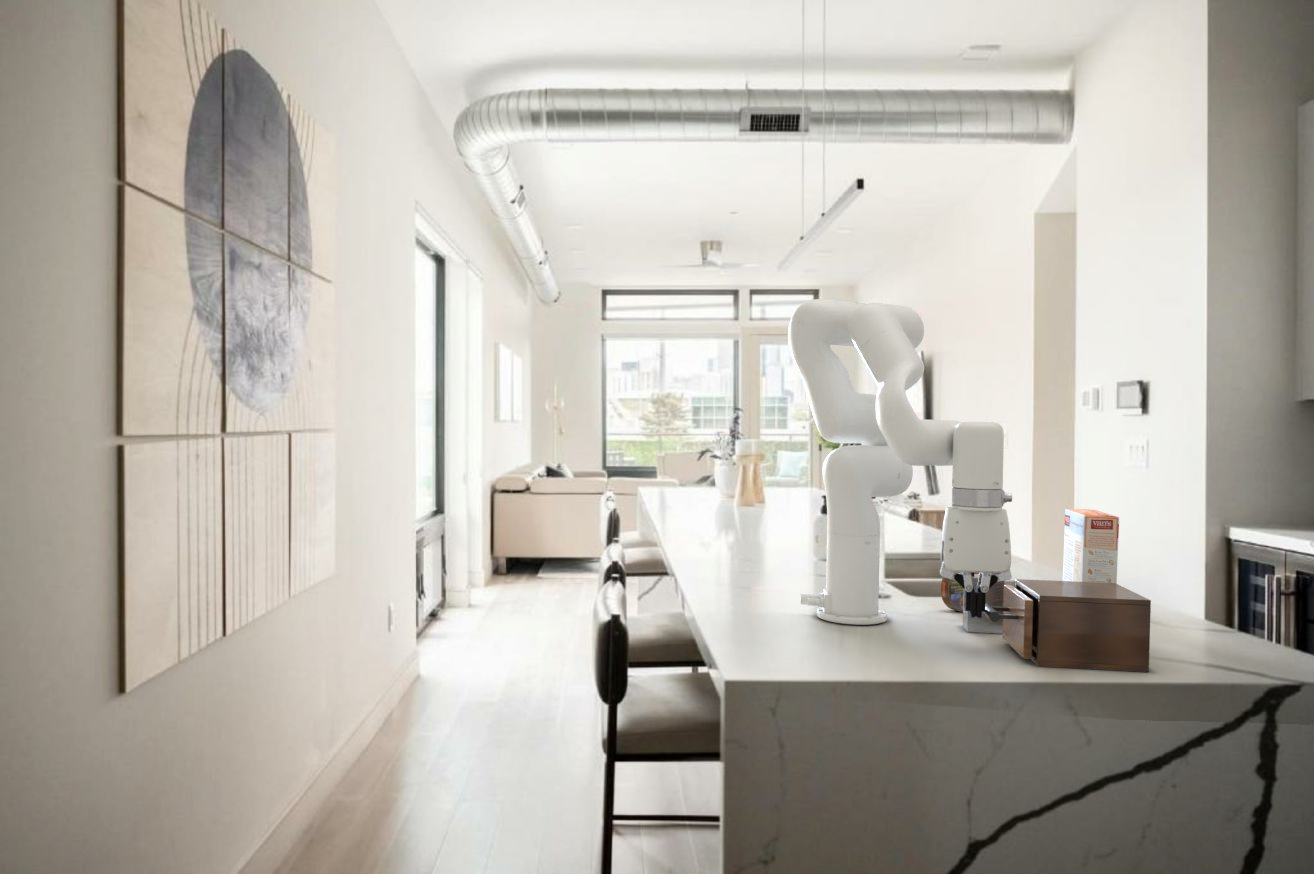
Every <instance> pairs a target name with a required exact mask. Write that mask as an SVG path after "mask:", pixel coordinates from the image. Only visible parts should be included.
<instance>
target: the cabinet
mask: <svg viewBox="0 0 1314 874" xmlns="http://www.w3.org/2000/svg"><path fill="white" fill-rule="evenodd" d="M1014 587H1015V588H1016V589H1018V590H1019V591H1020V592H1021V588H1022V589H1024V590H1025V591H1026V592H1028V593H1029V594H1031V595H1032V596H1034V597H1035V598H1036V599H1038V622H1037V653H1036V652H1035V651H1034V650H1032V659H1030V661H1032V662H1033V663H1034V664H1035V665H1036V666H1037V667H1043V668H1063V669H1081V670H1100V671H1101V670H1102V671H1103V670H1104V671H1118V672H1119V671H1120V672H1136V673H1137V672H1139V673H1150V649H1151V648H1150V645H1151V643H1150V642H1151V641H1150V640H1151V639H1150V638H1151V610H1152V609H1151V607H1152V600H1151V599H1149V598H1147V597H1145V596H1143V595H1141V594H1139V593H1137V592H1135V591H1132V590H1130V589H1129V588H1127V587H1124V586H1122V585H1120V584H1118V583H1117V584H1116V583H1099V582H1074V581H1063V580H1051V579H1050V580H1049V579H1048V580H1047V579H1045V580H1044V579H1022V578H1015V580H1014Z"/></svg>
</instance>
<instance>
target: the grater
mask: <svg viewBox="0 0 1314 874" xmlns="http://www.w3.org/2000/svg"><path fill="white" fill-rule="evenodd" d="M974 573H975V572H971V578H972V585H973V587H974V590H975V589H976V586H977V584H978V578H979V574H974ZM1005 582H1006V581H1000V582H996V583H995V584H994V585H993V586H992V587H991V588H990V589H989V590H988V592H986V603H987V604H989V605H990V606H992V607H1003V600H1004V584H1005V585H1006V583H1005ZM996 612H998V613H999V614H1003V611H996ZM962 628H963V629H964V630H965V631H966V632H967V633H976V634H977V633H978V634H979V633H980V634H996V635H999V634H1000V635H1003V619H1000V618H999V620H998V621H996V622H993V621H991V620H990V619H989V618H988V617H987V616H986V615H985V614H984V613H982V618H978V617H974V618H971V617H970V616H969V615H968V613H967V611H965V610H964V598H963V612H962Z"/></svg>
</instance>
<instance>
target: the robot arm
mask: <svg viewBox="0 0 1314 874" xmlns="http://www.w3.org/2000/svg"><path fill="white" fill-rule="evenodd" d="M787 336H788V337H787V338H788V348H789V350H790V351H789V352H790V354H791V357H792V359H793V361H794V364H795V366H796V368H797V370H798V372H799V375H800V377H801V380H802V383H803V385H804V389H805V392H806V396H807V399H808V402H809V403H808V404H809V406H810V409H811V413H812V416H813V419H814V422H815V426H816V429H817V431H818V433H819V435H820V436H821V438H822V439H823V440H825V441H826V442H829V443H833V444H856V445H844V446H840V447H838V448H835V449H833V450H832V451H831V452H829V454H828V455H827V456H826V458H825V459H824V461H823V464H822V480H823V487H824V493H825V500H826V513H827V514H826V517H827V518H826V562H825V563H826V564H825V565H826V567H825V569H826V570H825V588H824V589H823V590H822V592H817V594H811V593H800V605H807V606H809V607H810V606H811V607H815V606H816V607H818V608H817V609H816V616H817V617H818V618H819V619H820V620H823V621H826V622H831V623H836V624H843V625H855V626H856V625H857V626H859V625H860V626H866V625H868V626H869V625H877V624H878V625H879V624H882V623H885V622H886V621H887V620H888V613H887V612H886V611H884V610H882V609H879V601H880V600H879V598H880V597H879V595H880V557H881V556H880V554H881V520H880V515H879V512H878V510H877V507H876V505H875V503H874V501H873V498H885V497H895V496H898V495H901V494H903V493H904V492H906V491H907V490H908V489H909V488H910V486H911V483H912V481H913V473H914V471H913V466H917V467H920V466H921V467H923V466H924V467H925V466H935V467H936V466H938V467H939V466H941V467H942V466H943V467H947V466H950V467H952V472H951V473H952V474H951V475H952V476H951V477H952V479H951V481H952V482H951V487H952V488H951V506H946V508H945V513H944V516H943V523H942V532H941V542H940V543H941V544H940V563H941V565H940V566H941V567H940V570H939V575H940V576H941V577H942V578H943V577H944V578H948V579H951V580H955V581H957V582H958V583H959V584H960V585H961V586H962V587H963V588H964V610H965V611H967V613H968V615H969V616H970V617H971V618H974V617H978V618H982V612H985V606H986V592H988V590H989V589H990V588H991V587H992V586H993V585H994V584H995V583H996V582H1000V581H1005V582H1006V581H1010V580H1011V579H1012V572H1011V565H1012V543H1011V533H1010V530H1011V529H1010V521H1009V517H1008V510H1007V509H1006V508H1003V507H1004V505H1005V504H1006V503H1012V502H1013V494H1012V493H1007V492H1006V491H1005V490H1004V489H1003V488H1004V449H1005V448H1004V443H1005V442H1004V441H1005V434H1004V428H1003V426H1002V425H1001V424H1000V423H998V422H994V421H958V420H953V419H949V420H948V419H925V418H924V419H922V418H921V419H920V418H919V417H918V415H917V413H916V412H915V410H914V408H913V407H912V405H911V403H910V401H909V399H908V397H907V393H906V391H908V390H909V389H911V388H912V387H914V386H915V385H916V384H917V383H918V382H919V381H920V379H922V377H923V376H924V373H925V372H924V371H925V363H924V361H923V360H922V358H921V357H920V355H919V353H918V352H917V350H916V349H917V348H918V347H919V346H920V345H921V343H922V341H923V339H924V336H925V325H924V322H923V320H922V316H920V314H919V313H918V312H917V311H916V310H915V309H913V308H912V307H910V306H905V305H899V304H892V303H891V304H889V303H883V302H868V303H865V302H858V301H857V302H856V301H848V300H847V301H846V300H839V299H830V298H815V299H809V300H806V301H804V302H802V303H800V304H799V305H798V306H797V307H796V308H795V310H794V311H793V313H792V315H791V317H790V321H789V325H788V333H787ZM831 346H842V347H853V348H854V347H855V348H856V349H857V351H858V353H859V355H860V357H861V359H862V360H863V362H864V363H865V366H866V367H867V369H868V370H869V372H870V374H871V376H872V378H873V380H874V381H875V383H876V385H877V387H878V389H877V393H876V394H873V393H860V392H857V391H856V390H855V388H854V386H853V384H852V381H851V378H850V375H849V371H848V369H847V368H846V365H845V363H844V362H843V361H842V359H841V358H840V357H839V356H838V355H837V354H836V353H835V351H833V348H831ZM857 444H859V445H857ZM954 571H956V572H954ZM958 572H960V573H958ZM971 572H976V573H979V578H978V584H977V586H976V589H975V590H974V587H973V585H972V578H971ZM991 573H994V574H991Z"/></svg>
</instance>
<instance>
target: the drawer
mask: <svg viewBox="0 0 1314 874" xmlns="http://www.w3.org/2000/svg"><path fill="white" fill-rule="evenodd" d="M996 611H1003V614H999V613H998V612H996ZM982 613H984V614H985V615H986V616H987V617H988V618H989V619H990V620H991V621H993V622H996V621H998V620H999V618H1000V619H1003V634H1002V639H1003V640H1004V641H1005V642H1006V643H1007V645H1009V646H1010V647H1011V648H1012V649H1013V650H1014V651H1015V652H1016V653H1017V654H1018V655H1019V656H1020V657H1021V658H1022V659H1026V660H1031V659H1032V650H1034V651H1035V652H1036V653H1037V622H1038V599H1036V598H1035V597H1034V596H1032V595H1031V594H1029V593H1028V592H1026V591H1025V590H1024V589H1022V588H1021V592H1020V591H1019V590H1018V589H1016V588H1015V586H1013V585H1012V584H1005V585H1004V600H1003V607H992V606H990V605H989V604H987V603H986V606H985V612H982Z"/></svg>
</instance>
